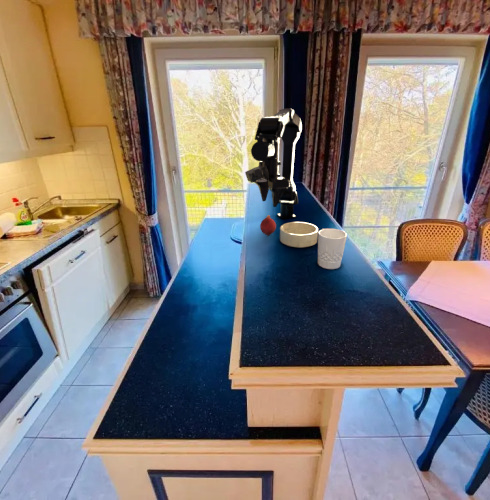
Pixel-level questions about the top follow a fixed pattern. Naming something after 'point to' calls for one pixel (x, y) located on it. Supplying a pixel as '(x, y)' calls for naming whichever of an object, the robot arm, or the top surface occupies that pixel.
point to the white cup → (331, 248)
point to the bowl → (298, 234)
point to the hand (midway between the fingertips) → (269, 203)
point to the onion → (268, 226)
